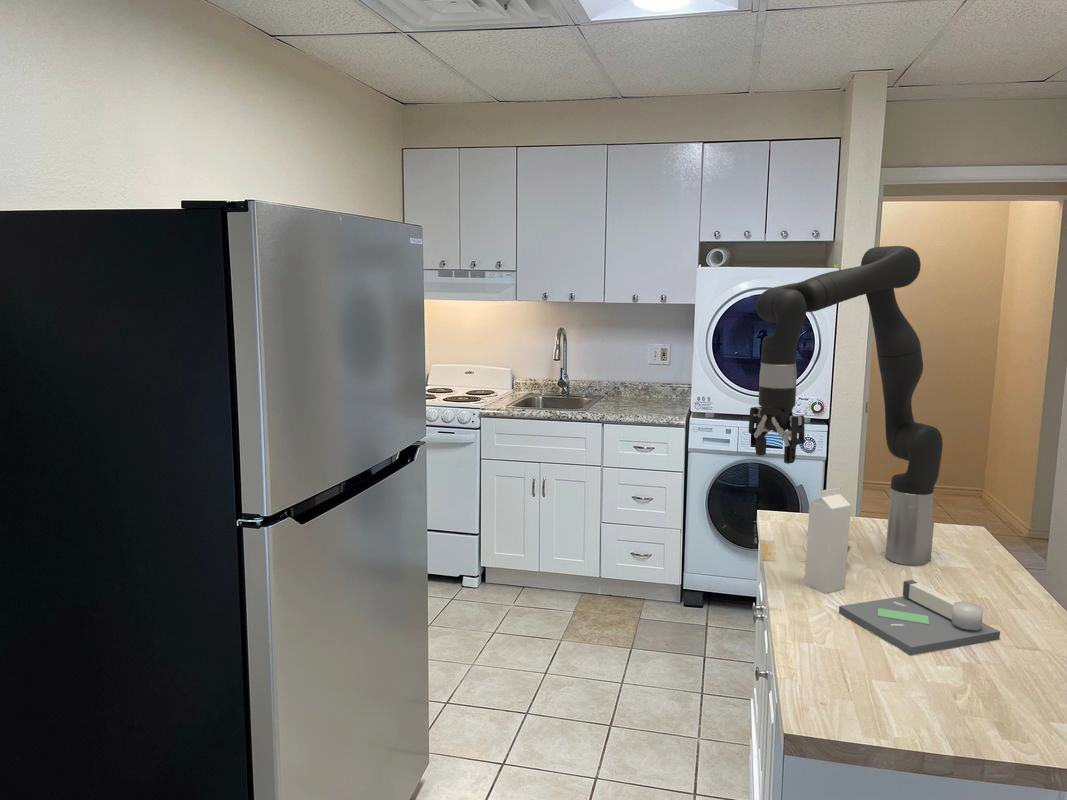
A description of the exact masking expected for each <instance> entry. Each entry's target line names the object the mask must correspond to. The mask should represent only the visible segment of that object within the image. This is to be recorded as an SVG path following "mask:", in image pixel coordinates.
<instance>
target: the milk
mask: <svg viewBox="0 0 1067 800" xmlns="http://www.w3.org/2000/svg"><path fill="white" fill-rule="evenodd" d="M851 506H852V504H850V503H849V502H848V501H847V499H846V498H845V497H844V496H843V495H842V494H841V487H834V488H829V489H823V490H821V492H820V497H818V498H816V499H814V500H811V501H809V508H808V527H807V538H806V539H807V540H806V541H807V542H806V556H805V569H804V570H805V574H804V585H805V586H808V587H810V588H811V589H814V590H817V591H819V592H822V593H823V594H829V593H833V592H837V591H841V590H844V589H845V588H846V577H847V575H846V574H847V561H848V553H847V550H848V546H849V545H848V544H849V535H850V533H849V532H850V523H851V522H850V521H851V519H850V518H851V508H852V507H851Z"/></svg>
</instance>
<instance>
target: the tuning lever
mask: <svg viewBox="0 0 1067 800" xmlns="http://www.w3.org/2000/svg"><path fill="white" fill-rule="evenodd" d="M902 586H903V587H902V596H905V597H907V598H909V599H911V600H913V601H915V602H917V603H919V604H921V605H923V606H925V607H927V608H929V609H931V610H933V611H935V612H937V613H939V614H941V615H943V616H945V617H947V618H949V619H951V620H952V623H953V624H954V625H955V626H957V627H959V628H963V629H967V630H979V629H981V628H982V623H983V617H984V608H983V607H982V606H981V605H979V604H976V603H973V602H968V601H957V600H954V599H952V598H950V597H948V596H945V595H944V594H942V593H940V592H937V591H935V590H933V589H931V588H929V587H926V586H925V585H923V584H921V583H918V582H917V581H915V580H913V579H910V580H904V581H903V585H902Z"/></svg>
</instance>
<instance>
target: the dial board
mask: <svg viewBox="0 0 1067 800" xmlns="http://www.w3.org/2000/svg"><path fill="white" fill-rule="evenodd" d="M838 614H839V615H841V616H843V617H845V619H849V620H850V621H852V622H853V623H855V624H856V625H859V626H861V627H862V628H864V629H865V630H867V631H869V632H870V633H872V634H874V635H875V636H877V637H879V638H881V639H882V640H885V642H887V643H889V644H891V645H893V646H894V647H896V648H898V649H899V650H901V651H903V652H904V653H906V654H908V655H910V656H914V655H919V654H926V653H930V652H935V651H941V650H948V649H952V648H958V647H962V646H967V645H968V646H969V645H973V644H980V643H984V642H985V643H986V642H989V641H990V642H991V641H996V640H1000V638H1001V630H998V629H996V628H994V627H992V626H990V625H988V624H986V623H984V622H982V628H981V629H979V630H967V629H963V628H959V627H957V626H955V625H954V624H953V623H952V620H951V619H949V618H947V617H945V616H943V615H941V614H939V613H937V612H935V611H933V610H931V609H929V608H927V607H925V606H923V605H921V604H919V603H917V602H915V601H913V600H911V599H909V598H907V597H905V596H903V595H902V596H896V597H888V598H882V599H877V600H876V599H875V600H871V601H870V600H869V601H864V602H863V601H862V602H856V603H851V604H844V605H839V607H838Z"/></svg>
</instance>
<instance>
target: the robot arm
mask: <svg viewBox="0 0 1067 800" xmlns="http://www.w3.org/2000/svg"><path fill="white" fill-rule="evenodd" d="M920 271H921V258H920V256H919V254H918V253H917V251H916V250H914V249H913V248H911V247H908V246H903V245H889V246H875V247H871V248H869V249H867V250H866V251H865V252H864V254H863V256H862V259H861V261H860V265H859V266H854V267H849V268H844V269H839V270H832V271H829V272H825V273H822V274H818V275H816V276H813V277H810V278H808V279H805V280H803V281H799V282H794V283H789V284H784V285H779V286H774V287H770V288H769V289H766V290H764V291H763V292H762V293H761V294H760V295H759V297H757V300H756V301H755V311H756V313H757V316H758V317H759V318H760V319H762V320H763V321H765V322H768V323H775V328H774V331H773V333H771V334H768V335H765V336H764V337H763V339H762V342H761V356H760V358H761V360H760V361H761V362H760V369H759V377H758V378H759V380H758V381H759V382H758V383H759V386H758V405H759V406H752V407H750V408H749V420H748V433H749V434H750V435H753V437H754V439H755V446H754V447H755V448H754V450H755V455H756V456H759V457H760V456H765V455H766V454H767V438H766V437H767V435H768V433H769V432H771V431H772V432H774V433H777V434H778V437H780V438H781V439H782V440H783V442H784V444H785V445H784V449H783V450H784V451H783V452H784V453H783V463H784V464H788V465H790V464H793V463H794V462H795V460H796V455H797V453H796V451H797V446H798V445H803V444H804V443H805V416H804V415H794V413H793V408H794V407H796V401H797V400H796V399H797V398H796V397H797V380H798V379H797V374H798V373H797V346H798V342H799V338H800V336H801V332H802V330H803V326H804V323H805V320H806V315H807V313H812V312H813V313H814V312H817V311H820V310H823V309H826V308H828V307H831V306H834V305H836V304H839V303H842V302H845V301H849V300H851V299H854V298H857V297H860V296H863V295H865V296H866V299H867V304H868V307H869V312H870V317H871V322H872V326H873V327H872V328H873V332H874V338H875V345H876V346H875V347H876V354H877V361H878V367H879V372H880V378H881V386H882V393H883V394H882V395H883V403H884V420H885V421H884V423H885V424H884V425H885V440H886V445H887V449H888V451H889V453H890V454H891V455H892V456H893V457H896V458H898V459H900V460H904V461H906V462H908V463H907V464H908V465H907V470H906V472H905V473H904V472H903V473H898V474H897V473H896V474H894V475H893V476H892V477H891V480H890V481H891V482H890V493H889V504H888V505H889V507H888V519H887V527H886V528H887V530H886V544H885V553H884V555H885V558H886V559H887V560H889V561H891V562H894V563H896V564H899V565H907V566H922V565H926V564H927V563H928V562H931V560H932V550H933V539H934V530H935V529H934V528H935V524H934V522H933V521H932V515H933V514H932V513H933V502H934V491H935V485H936V484H937V481H938V479H939V475H940V468H941V462H942V461H941V460H942V456H943V455H942V454H943V444H944V443H943V437H942V436H943V435H942V433H941V431H940V430H939V429H938V428H937V427H935V426H932V425H929V424H925V423H920V422H916V421H915V418H914V416H913V415H914V414H913V407H912V401H913V400H912V398H913V395H914V392H915V390H916V388H917V386H918V384H919V382H920V380H921V377H922V374H923V372H924V371H923V370H924V361H923V360H924V359H923V354H922V344H921V342H920V338H919V336H918V334H917V332H916V331H915V329H914V328H913V326H912V325H911V323H910V322H909V321H908V319H907V318H906V316H905V315H904V314H903V312H902V311H901V309H900V306H899V305H898V301H897V298H896V292H895V289H900V288H905V287H907V286H909V285H911V284H913V282H914V281H916V279H917V278H918V277H919V274H920Z"/></svg>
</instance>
